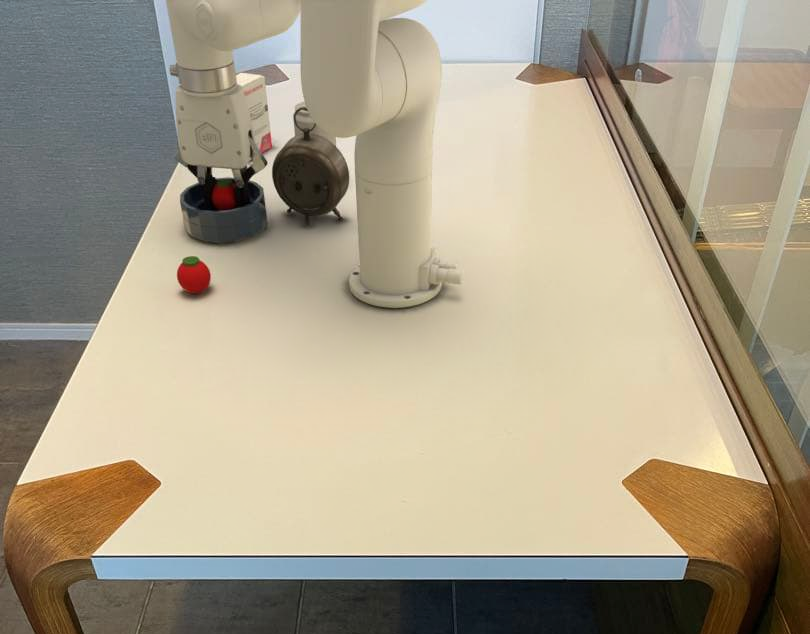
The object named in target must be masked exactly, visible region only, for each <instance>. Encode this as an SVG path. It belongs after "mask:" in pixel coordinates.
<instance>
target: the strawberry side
mask: <svg viewBox="0 0 810 634" xmlns="http://www.w3.org/2000/svg"><path fill="white" fill-rule="evenodd" d="M181 261H182V262H181V263H180V265H179V266H178V267H177V271H176V279H177V282H178V284H179V286H180V287H181V288H182V289H183V290H184V291H186V292H187V293H190V294H199V293H202V292H204V291H205V290H207V288H208V287H209V285H210V283H211V281H212V275H211V271H210V269H209V267H208V265H206V263H205V262H204V261H202V260H200V258H199V257H198V256H195V255H194V256H193V255H190V256H186V257H183V259H182V260H181Z"/></svg>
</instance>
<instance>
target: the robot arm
mask: <svg viewBox="0 0 810 634" xmlns="http://www.w3.org/2000/svg"><path fill="white" fill-rule="evenodd" d="M427 1H428V0H165V3H166V9H167V14H168V15H167V16H168V21H169V26H170V31H171V38H172V43H173V49H174V54H175V60H176V63H175V64H170V65H169V74H170V76H172V77H176V78H178V83H179V86H177V87H176V89H175V119H176V120H175V121H176V130H177V137H178V138H177V140H178V145H179V146H178V148H177V151H176V153H175V156H174V159H175V161H176V162H177V163H179V164H180V165H182V166H183V167H185V168H187V170H188V171H189V172H190V173H191V175H193V176H194V177H195V178H196V179H197V183H198V182H199V183H200V184H202V188H203V194H204V200H205V203H207V206H208V211H214V210H215V209H216V207H215V206H214V204H213V201H212V190H213V188H214V187H215V186H216V185H217V180H216V178H217V177H216V176H213V168H214V169H227V170H231V172H232V176H233V178H234V179H235V183H236V186H235V187H234V189H233V191H234V198H235V204H236V208H240V207H244V206H246V205H248V204H250V197H249V189H248V181H249V180H250V181H251V179H252V177H253V176H254V175H256V174H258V173H259V172H261V171H262V170H264V169H265V168H266V167H267V166H268V160H267V158H266V157H265V156H264V154H263V153H261V151H260V150H259V148H258V147H257V146H256V144H255V137H254V131H253V126H252V121H251V117H250V112H249V109H248V105H247V101H246V98H245V95H244V92H243V89H242V87H241V85H238V84H237V80H236V75H237V74H236V67H235V59H234V53H233V51H235V50H238V49H241V48H244V47H247V46H250V45H253V44H254V43H258V42H261V41H263V40H266V39H270V38H273V37H275V36H278V35H281V34H283V33H285V32H286V31H288V30H289V29H290V28H291V27H292V26H293V25H294V24H295V22H296V20H297V19H298V17H299V16H300V52H299V53H300V83H301V84H300V85H301V91H302V96H303V100H304V101H303V102H305V104H306V107H307V110H308V112H309V114H310V116H311V118H312V119H313V121H314V122H315V124H316V125H317V126H318V127H319V128H320V129H321V130H322V131H323V132H325V133H326V134H328V135H330V136H333V137H336V138H339V139H346V138H352V137H355V142H354V179H355V181H354V182H355V200H356V223H357V241H358V257H359V258H358V260H359V261H358V263H359V264H358V265H357V266H356V267H354V268H353V270H351V272H350V274H349V276H348V286H349V290H350V292H351V294H352V295H353V296H354V297H355V298H356V299H358V300H359V301H361V302H363V303H366V304H368V305H372V306H375V307H380V308H389V309H390V308H391V309H400V308H401V309H403V308H410V307H415V306H418V305H422V304H424V303H426V302H428V301H430V300H431V299H433V298H434V297H436V296H437V295H438V294H439V293H440V292H441V290H442V285H443V283H446V284H449V285H459V286H461V285H462V284H463V283H462V282H463V275H464V271H463V269H462V268H461V269H459V268H458V262H457V261H453V260H452V261H451V260H447V261H444V260H441V258H437V247H432V200H433V199H432V198H433V197H432V196H433V195H432V194H433V193H432V192H433V151H434V150H433V148H434V133H435V131H434V130H435V121H436V115H437V108H438V103H439V98H440V92H441V88H442V87H441V86H442V77H443V67H442V66H443V64H442V57H441V52H440V49H439V45H438V44H437V41H436V38H435V37H434V36H433V34H432V33H431V32H430V30H429V29H428V28H427V27H426V26H424V24H422V23H421V22H419V21H417V20H415V19H411V18H407V17H397V16H399V15H401V14H404V13H406V12H407V13H408V12H410V11H412V10H414V9H416V8H418V7H420V6H422V5H424V4H425V3H426V2H427ZM250 158H251V161H252V162H253V163H251V164H250V165H249V166H248V164H249V163H250V161H249V159H250Z"/></svg>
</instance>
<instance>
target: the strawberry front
mask: <svg viewBox="0 0 810 634" xmlns="http://www.w3.org/2000/svg"><path fill="white" fill-rule="evenodd" d="M235 186H236V185H235V184H233V183H232V181H231V180H230V179H221V180H218V181H217V185H216V186H215V187H214V188H213V190H212V201H213V204H214V206H215V207H216V208H217V209H218V210H220V211H225V210H233V209H236V204H235V198H234V191H233V189H234V187H235Z"/></svg>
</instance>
